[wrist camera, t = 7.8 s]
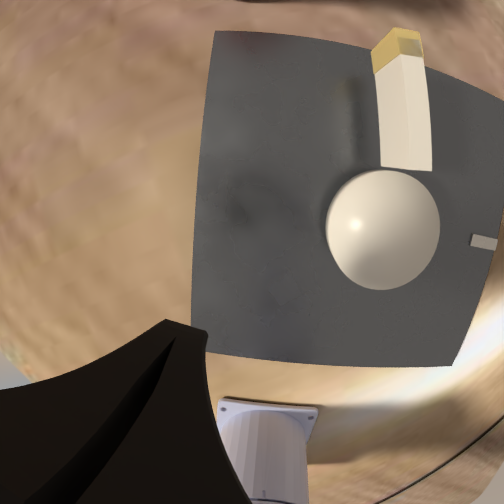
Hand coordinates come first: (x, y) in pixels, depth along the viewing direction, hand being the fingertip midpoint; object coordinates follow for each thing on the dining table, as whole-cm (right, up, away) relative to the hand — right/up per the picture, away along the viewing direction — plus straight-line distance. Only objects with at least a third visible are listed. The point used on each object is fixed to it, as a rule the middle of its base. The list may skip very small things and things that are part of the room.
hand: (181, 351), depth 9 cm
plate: (+9, +5, +9) cm, 13 cm away
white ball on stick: (+9, +7, +6) cm, 13 cm away
